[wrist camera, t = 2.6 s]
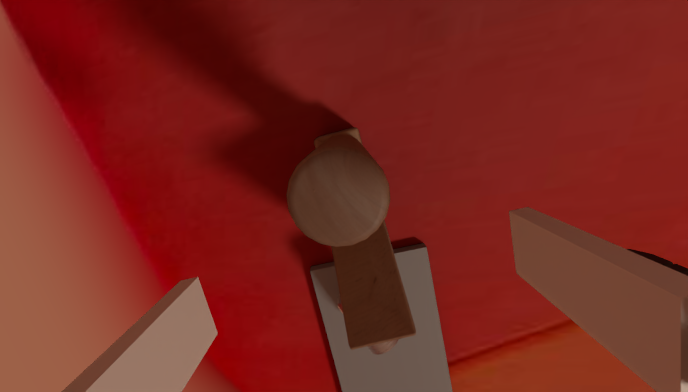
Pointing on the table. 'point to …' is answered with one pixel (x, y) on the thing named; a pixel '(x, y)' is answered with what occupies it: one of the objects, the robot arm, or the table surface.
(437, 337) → the plate
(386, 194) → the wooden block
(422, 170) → the table surface
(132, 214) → the table surface
